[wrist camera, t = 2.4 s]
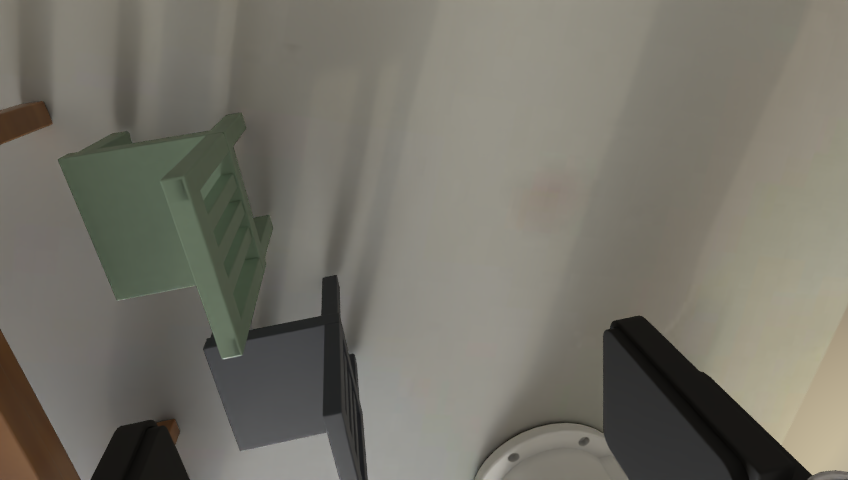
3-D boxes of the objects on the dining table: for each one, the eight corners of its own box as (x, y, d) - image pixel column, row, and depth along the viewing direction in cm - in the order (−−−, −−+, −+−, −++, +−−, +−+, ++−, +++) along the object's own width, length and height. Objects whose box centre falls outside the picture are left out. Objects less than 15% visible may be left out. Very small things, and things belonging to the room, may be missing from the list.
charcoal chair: (338, 272, 33) (342, 412, 22) (358, 365, 36) (371, 532, 25) (223, 294, 33) (163, 450, 21) (253, 386, 36) (215, 569, 24)
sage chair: (243, 110, 29) (184, 175, 17) (275, 229, 32) (243, 355, 20) (108, 131, 28) (-49, 215, 17) (153, 252, 31) (46, 396, 19)
